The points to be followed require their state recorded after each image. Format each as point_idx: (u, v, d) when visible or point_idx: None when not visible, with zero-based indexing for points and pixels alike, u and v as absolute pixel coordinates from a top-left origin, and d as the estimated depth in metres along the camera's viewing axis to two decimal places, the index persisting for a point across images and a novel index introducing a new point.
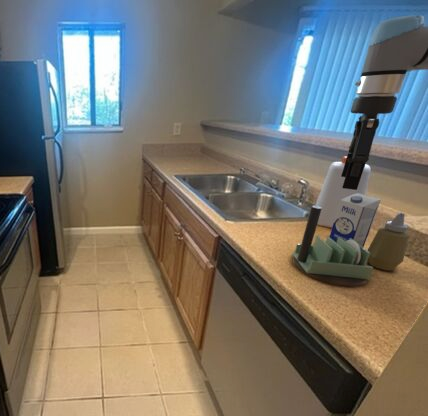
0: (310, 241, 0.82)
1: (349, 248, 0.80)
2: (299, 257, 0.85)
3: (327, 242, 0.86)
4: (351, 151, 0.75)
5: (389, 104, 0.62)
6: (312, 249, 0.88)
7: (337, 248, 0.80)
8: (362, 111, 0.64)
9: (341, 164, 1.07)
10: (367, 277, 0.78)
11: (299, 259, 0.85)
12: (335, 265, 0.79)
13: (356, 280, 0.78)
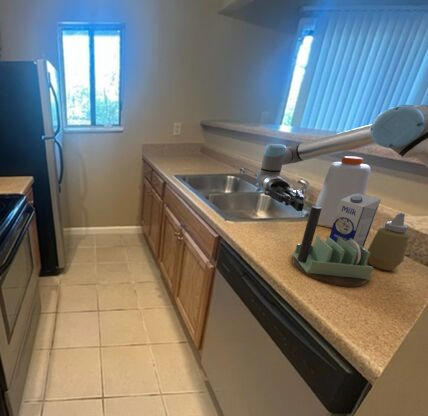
0: (310, 241, 0.82)
1: (349, 248, 0.80)
2: (299, 257, 0.85)
3: (327, 242, 0.86)
4: None
5: (271, 181, 1.11)
6: (312, 249, 0.88)
7: (337, 248, 0.80)
8: None
9: (341, 164, 1.07)
10: (367, 277, 0.78)
11: (299, 259, 0.85)
12: (335, 265, 0.79)
13: (356, 280, 0.78)
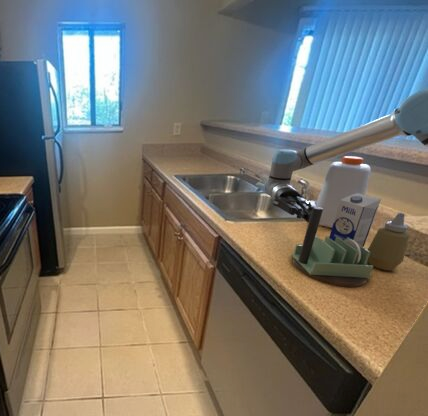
0: (312, 242, 0.82)
1: (349, 248, 0.80)
2: (300, 258, 0.85)
3: (326, 242, 0.86)
4: None
5: (280, 191, 1.01)
6: (311, 249, 0.88)
7: (338, 248, 0.80)
8: None
9: (341, 164, 1.07)
10: (367, 276, 0.78)
11: (300, 260, 0.85)
12: (337, 265, 0.79)
13: (356, 280, 0.78)
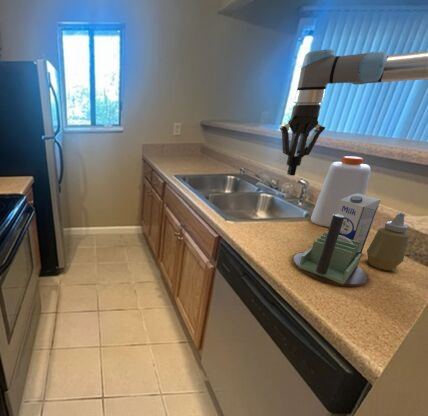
0: (333, 251, 0.77)
1: (345, 244, 0.82)
2: (322, 270, 0.79)
3: None
4: (296, 154, 0.96)
5: (299, 110, 0.89)
6: (310, 255, 0.85)
7: (342, 248, 0.81)
8: (291, 115, 0.93)
9: (341, 164, 1.07)
10: (358, 263, 0.84)
11: (323, 272, 0.79)
12: (353, 265, 0.79)
13: (356, 280, 0.78)
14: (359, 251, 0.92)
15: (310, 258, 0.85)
